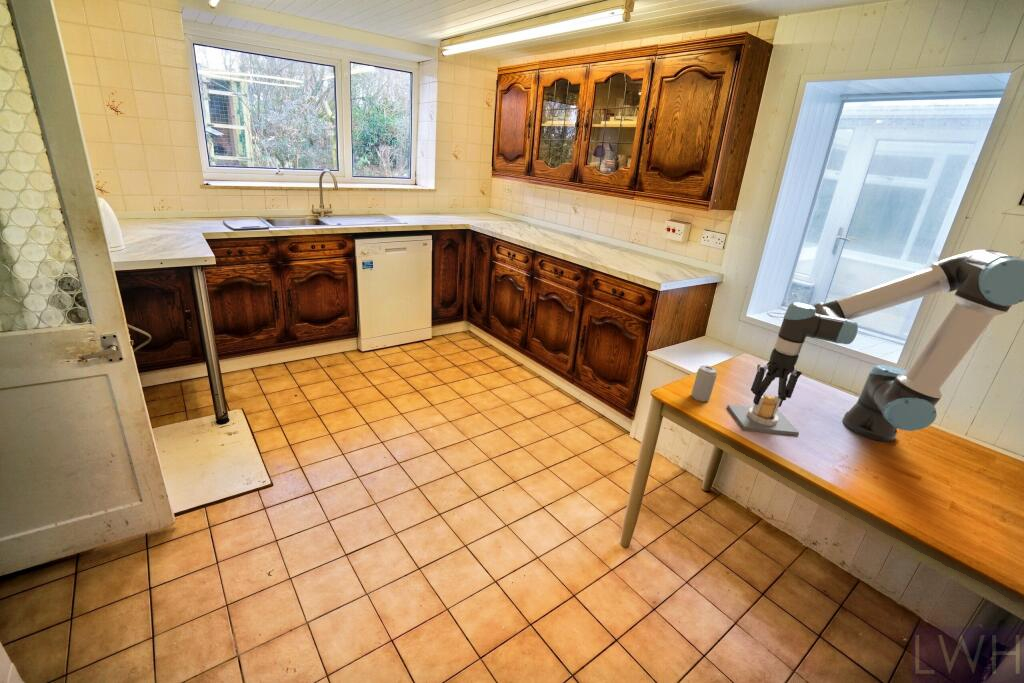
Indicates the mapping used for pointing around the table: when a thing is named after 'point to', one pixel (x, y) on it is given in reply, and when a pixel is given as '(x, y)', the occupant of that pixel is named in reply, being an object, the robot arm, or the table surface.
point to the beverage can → (704, 383)
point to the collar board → (760, 427)
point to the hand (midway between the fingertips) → (763, 413)
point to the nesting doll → (767, 407)
